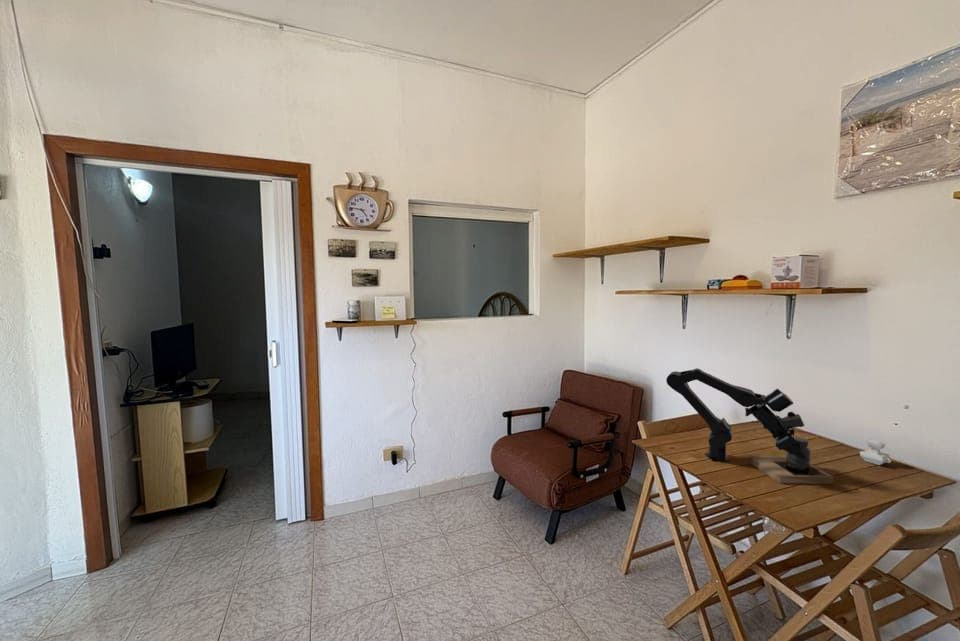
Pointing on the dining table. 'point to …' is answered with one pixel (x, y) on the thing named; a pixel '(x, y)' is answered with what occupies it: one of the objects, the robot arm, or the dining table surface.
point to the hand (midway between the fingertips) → (803, 454)
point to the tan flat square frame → (776, 471)
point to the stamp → (875, 453)
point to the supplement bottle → (799, 459)
